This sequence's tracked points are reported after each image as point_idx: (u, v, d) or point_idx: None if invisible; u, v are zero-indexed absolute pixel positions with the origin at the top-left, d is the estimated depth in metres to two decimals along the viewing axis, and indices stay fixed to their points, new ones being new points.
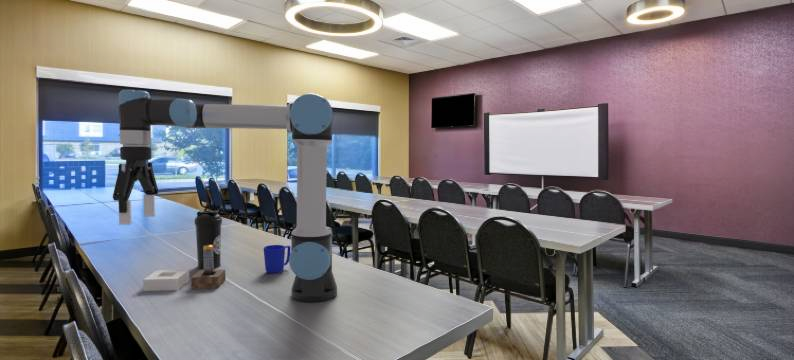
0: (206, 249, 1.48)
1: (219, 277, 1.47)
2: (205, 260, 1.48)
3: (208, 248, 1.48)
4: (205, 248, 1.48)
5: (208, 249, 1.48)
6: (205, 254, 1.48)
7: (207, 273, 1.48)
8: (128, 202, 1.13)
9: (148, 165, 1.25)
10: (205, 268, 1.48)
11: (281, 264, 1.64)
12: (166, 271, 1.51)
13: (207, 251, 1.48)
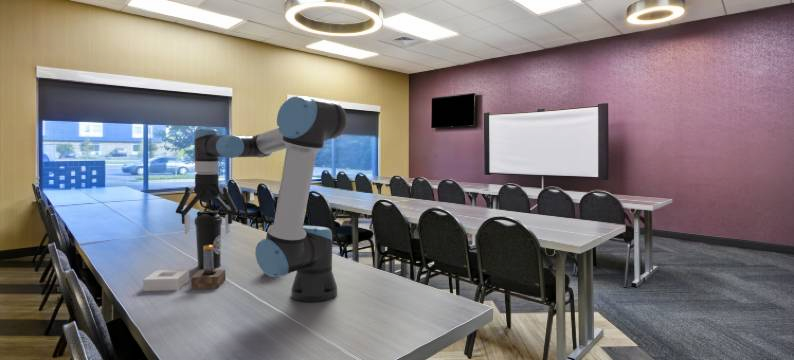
0: (206, 249, 1.48)
1: (219, 277, 1.47)
2: (205, 260, 1.48)
3: (208, 248, 1.48)
4: (205, 248, 1.48)
5: (208, 249, 1.48)
6: (205, 254, 1.48)
7: (207, 273, 1.48)
8: (184, 216, 1.46)
9: (223, 189, 1.48)
10: (205, 268, 1.48)
11: None
12: (166, 271, 1.51)
13: (207, 251, 1.48)
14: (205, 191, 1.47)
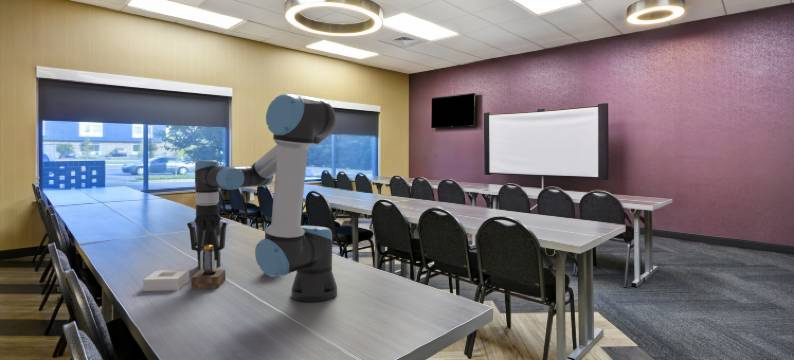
0: (206, 249, 1.48)
1: (219, 277, 1.47)
2: (205, 260, 1.48)
3: (208, 248, 1.48)
4: (205, 248, 1.48)
5: (208, 249, 1.48)
6: (205, 254, 1.48)
7: (207, 273, 1.48)
8: None
9: (222, 223, 1.48)
10: (205, 268, 1.48)
11: None
12: (166, 271, 1.51)
13: (207, 251, 1.48)
14: (206, 222, 1.47)
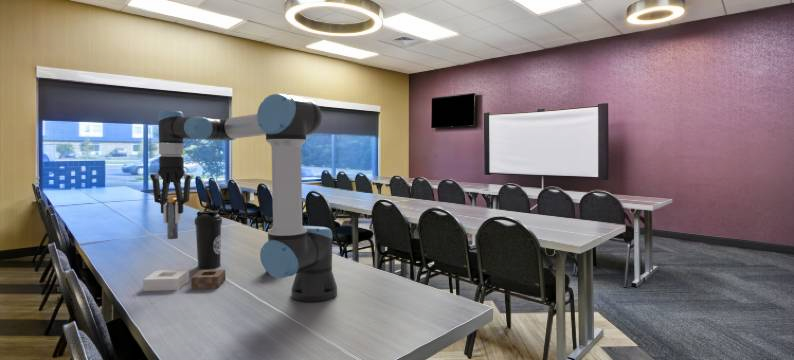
0: (169, 202, 1.45)
1: (219, 277, 1.47)
2: (168, 213, 1.45)
3: (171, 201, 1.45)
4: (168, 200, 1.45)
5: (171, 202, 1.45)
6: (169, 207, 1.45)
7: (170, 226, 1.46)
8: None
9: (186, 176, 1.46)
10: (168, 221, 1.46)
11: None
12: (166, 271, 1.51)
13: (170, 204, 1.45)
14: (169, 174, 1.45)
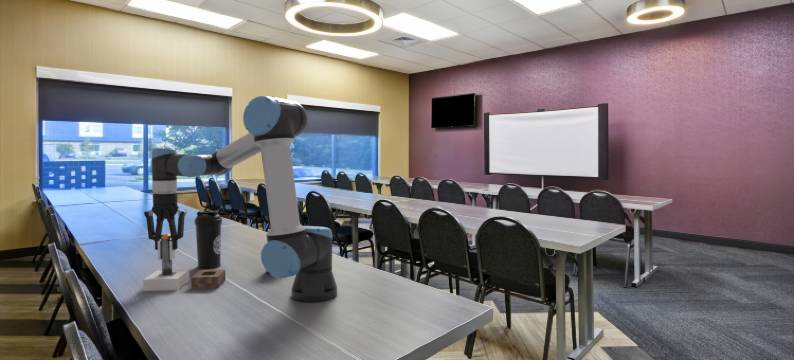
0: (163, 238, 1.45)
1: (219, 277, 1.47)
2: (163, 249, 1.46)
3: (165, 237, 1.46)
4: (162, 237, 1.45)
5: (166, 238, 1.46)
6: (163, 243, 1.46)
7: (165, 263, 1.46)
8: (158, 242, 1.46)
9: (180, 212, 1.46)
10: (163, 257, 1.46)
11: None
12: None
13: (164, 240, 1.46)
14: (163, 210, 1.45)
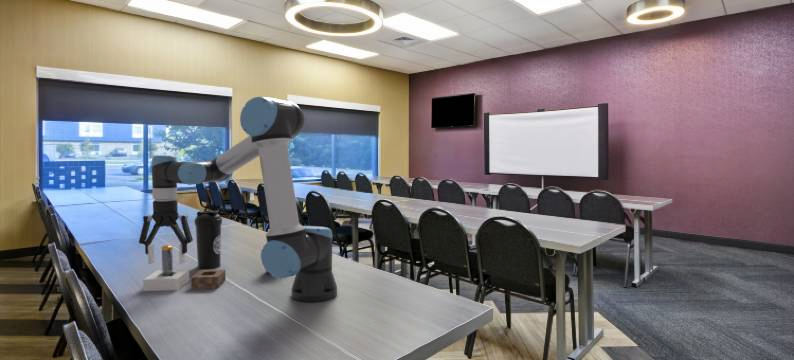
0: (164, 250, 1.46)
1: (219, 277, 1.47)
2: (163, 261, 1.46)
3: (166, 249, 1.46)
4: (163, 249, 1.46)
5: (166, 250, 1.46)
6: (164, 255, 1.46)
7: (165, 274, 1.46)
8: (148, 247, 1.45)
9: None
10: (163, 269, 1.46)
11: None
12: None
13: (165, 252, 1.46)
14: (163, 218, 1.45)
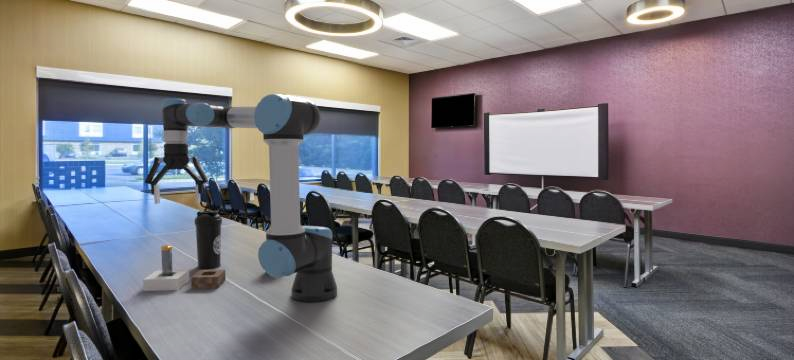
0: (164, 250, 1.46)
1: (219, 277, 1.47)
2: (163, 261, 1.46)
3: (166, 249, 1.46)
4: (163, 249, 1.46)
5: (166, 250, 1.46)
6: (163, 255, 1.46)
7: (165, 274, 1.46)
8: (154, 186, 1.46)
9: None
10: (163, 269, 1.46)
11: None
12: None
13: (165, 252, 1.46)
14: (174, 161, 1.47)
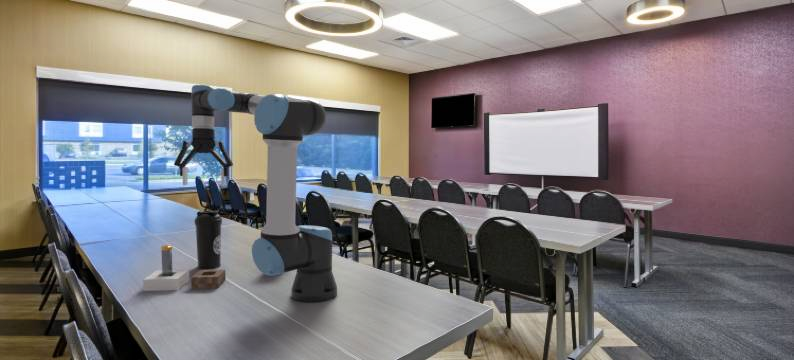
0: (164, 250, 1.46)
1: (219, 277, 1.47)
2: (163, 261, 1.46)
3: (166, 249, 1.46)
4: (163, 249, 1.46)
5: (166, 250, 1.46)
6: (163, 255, 1.46)
7: (165, 274, 1.46)
8: None
9: (218, 143, 1.56)
10: (163, 269, 1.46)
11: None
12: None
13: (165, 252, 1.46)
14: (202, 145, 1.55)
